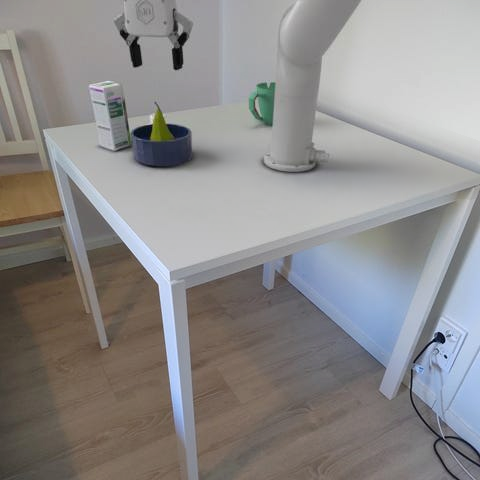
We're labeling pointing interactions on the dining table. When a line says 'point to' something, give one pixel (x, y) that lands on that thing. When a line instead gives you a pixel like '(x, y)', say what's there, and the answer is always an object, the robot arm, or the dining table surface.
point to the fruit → (160, 128)
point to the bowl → (162, 146)
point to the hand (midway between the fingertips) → (157, 67)
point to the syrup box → (110, 114)
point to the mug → (263, 102)
